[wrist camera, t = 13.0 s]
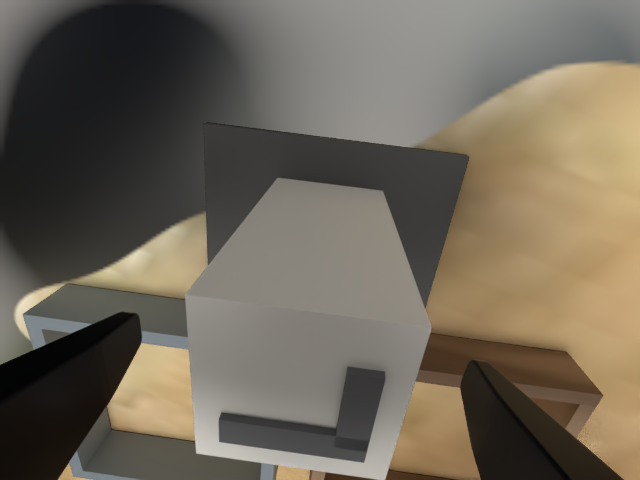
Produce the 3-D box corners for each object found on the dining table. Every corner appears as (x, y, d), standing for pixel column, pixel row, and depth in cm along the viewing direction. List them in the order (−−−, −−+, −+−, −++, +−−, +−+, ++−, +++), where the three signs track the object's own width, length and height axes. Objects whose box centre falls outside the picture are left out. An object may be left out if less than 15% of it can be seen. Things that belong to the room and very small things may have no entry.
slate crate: (278, 461, 25) (270, 506, 23) (102, 435, 26) (73, 476, 23) (292, 314, 20) (284, 350, 17) (67, 283, 20) (22, 314, 17)
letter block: (365, 281, 18) (385, 488, 9) (272, 269, 18) (193, 460, 9) (382, 190, 16) (434, 334, 6) (277, 177, 16) (180, 300, 7)
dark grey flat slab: (419, 314, 19) (421, 320, 19) (211, 286, 19) (208, 291, 19) (465, 154, 15) (469, 156, 15) (207, 122, 16) (203, 123, 15)
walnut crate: (491, 492, 25) (509, 541, 22) (310, 465, 25) (306, 511, 23) (567, 352, 19) (603, 395, 17) (333, 320, 20) (331, 357, 17)
